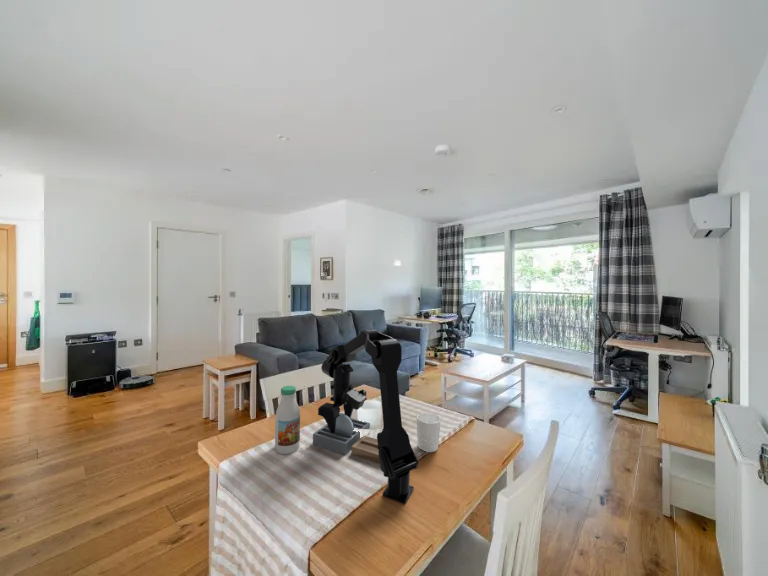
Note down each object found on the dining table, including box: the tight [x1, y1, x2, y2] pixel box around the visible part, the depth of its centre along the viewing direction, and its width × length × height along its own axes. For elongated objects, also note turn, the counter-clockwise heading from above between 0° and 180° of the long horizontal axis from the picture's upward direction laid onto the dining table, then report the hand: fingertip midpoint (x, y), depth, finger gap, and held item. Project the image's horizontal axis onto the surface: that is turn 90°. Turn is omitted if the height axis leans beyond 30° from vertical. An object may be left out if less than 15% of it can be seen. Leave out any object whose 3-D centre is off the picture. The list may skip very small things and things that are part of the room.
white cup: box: [416, 412, 442, 453], centre depth 106 cm, size 8×8×10 cm
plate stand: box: [350, 435, 380, 464], centre depth 101 cm, size 8×12×2 cm, turn 64°
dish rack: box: [312, 417, 371, 455], centre depth 110 cm, size 16×13×4 cm
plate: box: [335, 412, 354, 435], centre depth 109 cm, size 1×9×9 cm, turn 64°
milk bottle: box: [274, 385, 301, 455], centre depth 102 cm, size 8×8×20 cm
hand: (340, 426), depth 109 cm, fingers open, 9 cm apart
